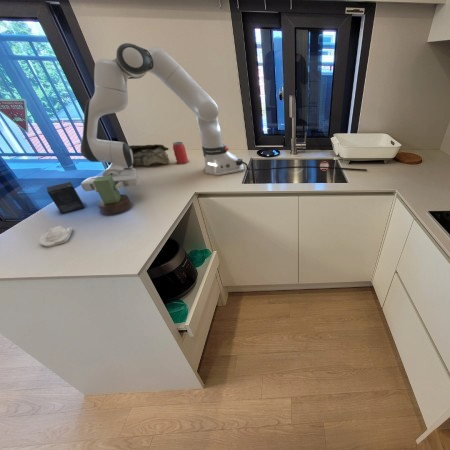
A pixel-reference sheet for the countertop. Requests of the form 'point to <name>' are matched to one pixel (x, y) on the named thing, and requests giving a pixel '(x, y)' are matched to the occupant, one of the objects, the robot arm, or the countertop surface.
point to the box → (65, 197)
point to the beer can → (180, 152)
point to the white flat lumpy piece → (55, 236)
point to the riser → (115, 206)
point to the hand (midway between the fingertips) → (106, 189)
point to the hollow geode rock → (149, 154)
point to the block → (107, 189)
